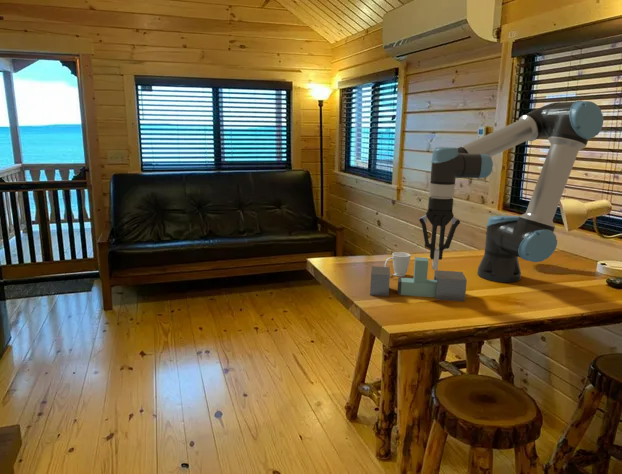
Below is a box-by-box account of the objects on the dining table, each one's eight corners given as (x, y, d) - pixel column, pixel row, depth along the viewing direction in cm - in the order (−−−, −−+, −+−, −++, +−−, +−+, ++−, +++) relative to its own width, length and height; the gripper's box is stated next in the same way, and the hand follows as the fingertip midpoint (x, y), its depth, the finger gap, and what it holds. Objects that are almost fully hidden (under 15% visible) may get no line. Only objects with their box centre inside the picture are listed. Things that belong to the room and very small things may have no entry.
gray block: (460, 292, 159) (462, 271, 157) (464, 301, 150) (466, 280, 149) (433, 290, 160) (434, 270, 158) (435, 299, 152) (437, 278, 150)
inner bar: (461, 294, 157) (464, 259, 154) (463, 299, 152) (467, 263, 150) (397, 290, 160) (399, 256, 157) (397, 294, 155) (399, 259, 153)
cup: (413, 277, 174) (414, 256, 172) (388, 279, 171) (390, 257, 169) (403, 271, 181) (405, 251, 179) (380, 273, 178) (381, 252, 176)
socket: (388, 287, 162) (389, 267, 161) (388, 296, 154) (389, 275, 152) (370, 286, 163) (371, 266, 162) (370, 294, 155) (371, 274, 153)
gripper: (460, 196, 151) (453, 266, 156) (419, 194, 153) (413, 264, 158) (464, 199, 144) (457, 273, 149) (421, 197, 146) (415, 270, 151)
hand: (434, 268), depth 154 cm, fingers closed
